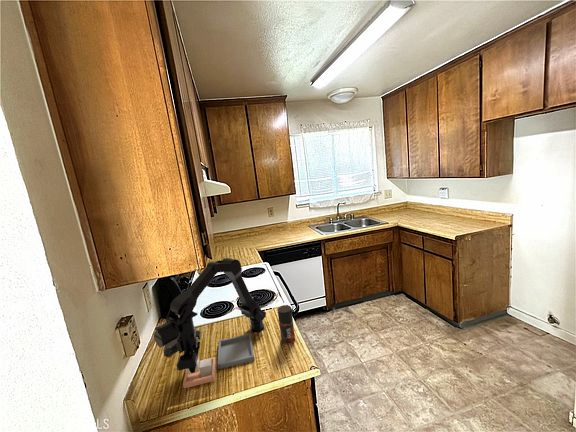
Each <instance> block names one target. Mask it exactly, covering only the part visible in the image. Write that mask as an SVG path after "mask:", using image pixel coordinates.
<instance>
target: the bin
mask: <svg viewBox="0 0 576 432" xmlns="http://www.w3.org/2000/svg"><path fill="white" fill-rule="evenodd" d="M217 352H218V353H217V354H218V355H217V370H221V369H226V368H230V367H234V366H238V365H241V364H246V363H251V362H254V361H255V354H254V347H253V341H252V333H251V332H250V333H247V334H242V335H241V334H240V335H237V336H234V337H233V336H232V337H230V338H225V339H219V340H218V351H217Z"/></svg>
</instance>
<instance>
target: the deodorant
mask: <svg viewBox="0 0 576 432" xmlns="http://www.w3.org/2000/svg"><path fill="white" fill-rule="evenodd" d="M277 315H278V322H279V323H278V324H279V331H280V340H281V343H282V344H286V345H289V344H291V345H292V343H293V344H294V343H295V342H296V335H295V328H294V319H293V310H292V307H291V306H290V305H286V304H285V305H281V306H279V307H278V308H277Z"/></svg>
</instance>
